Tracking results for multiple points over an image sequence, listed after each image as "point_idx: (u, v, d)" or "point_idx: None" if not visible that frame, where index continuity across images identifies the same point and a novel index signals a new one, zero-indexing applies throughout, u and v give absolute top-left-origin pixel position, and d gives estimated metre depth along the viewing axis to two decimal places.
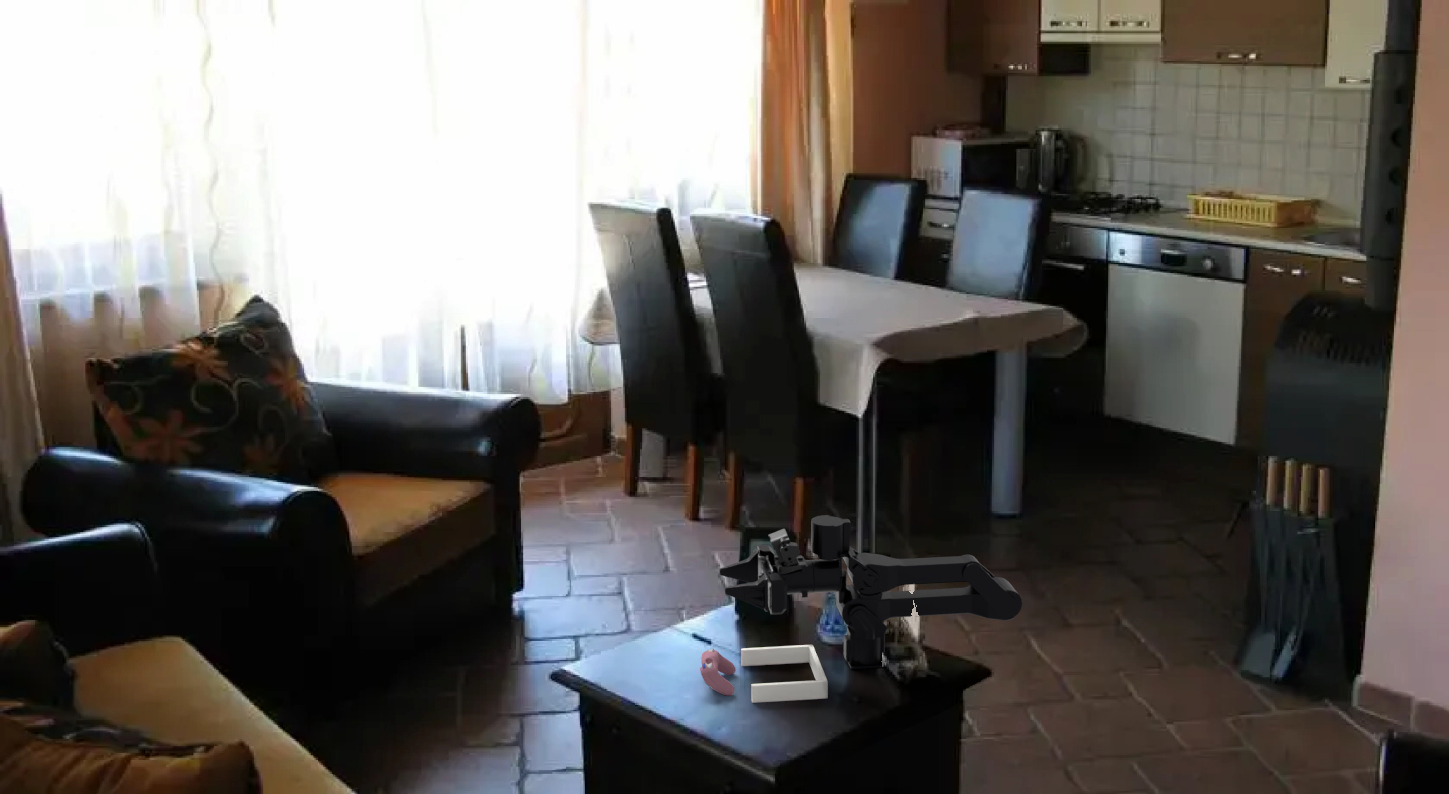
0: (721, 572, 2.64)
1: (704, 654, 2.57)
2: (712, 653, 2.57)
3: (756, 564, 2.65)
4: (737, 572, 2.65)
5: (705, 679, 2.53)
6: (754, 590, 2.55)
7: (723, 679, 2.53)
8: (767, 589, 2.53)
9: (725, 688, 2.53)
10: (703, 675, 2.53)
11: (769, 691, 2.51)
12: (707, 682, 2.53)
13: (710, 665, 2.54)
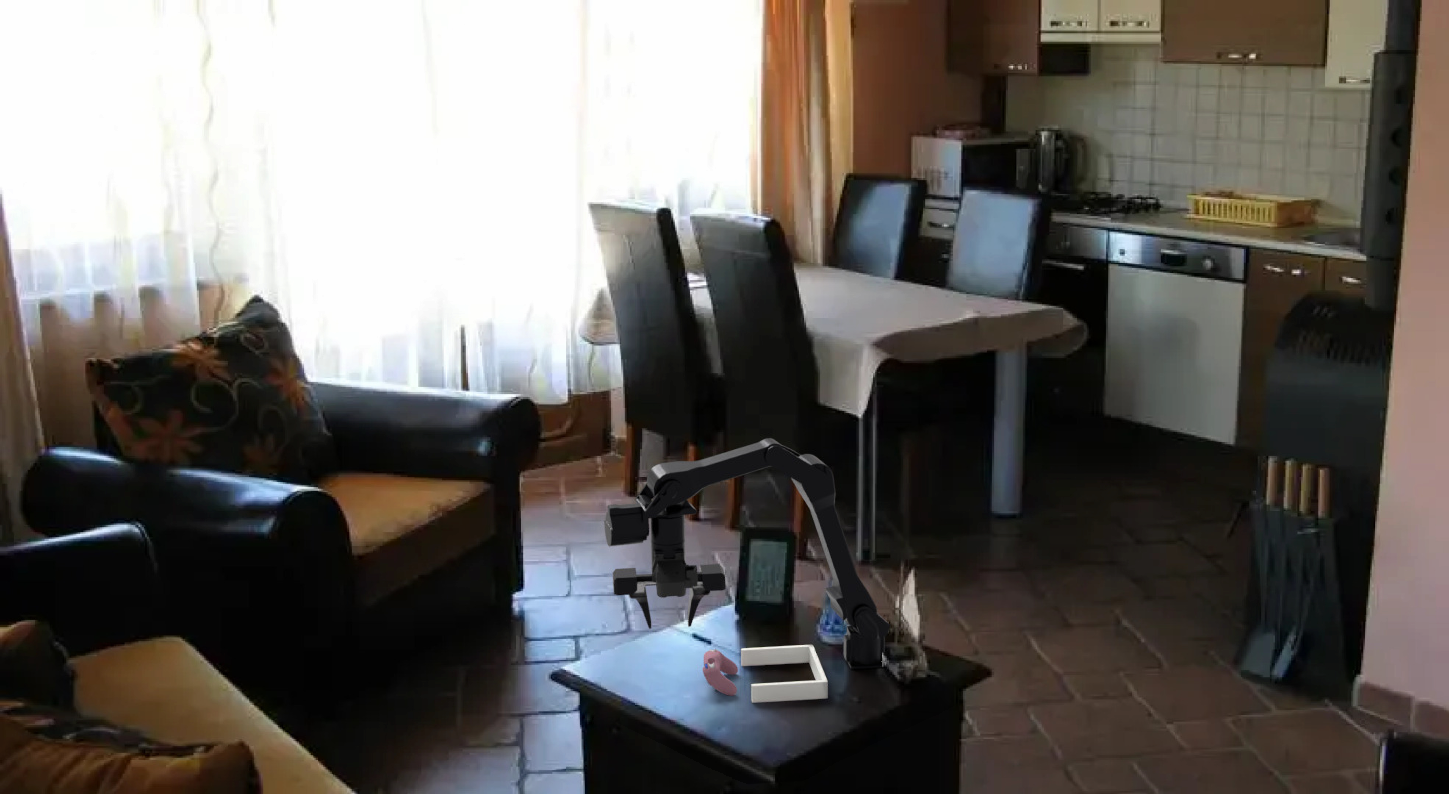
0: None
1: (706, 654, 2.57)
2: (714, 653, 2.57)
3: (646, 593, 2.52)
4: None
5: (707, 679, 2.53)
6: None
7: (725, 679, 2.53)
8: None
9: (728, 688, 2.53)
10: (705, 675, 2.53)
11: (769, 691, 2.51)
12: (709, 682, 2.53)
13: (712, 665, 2.54)
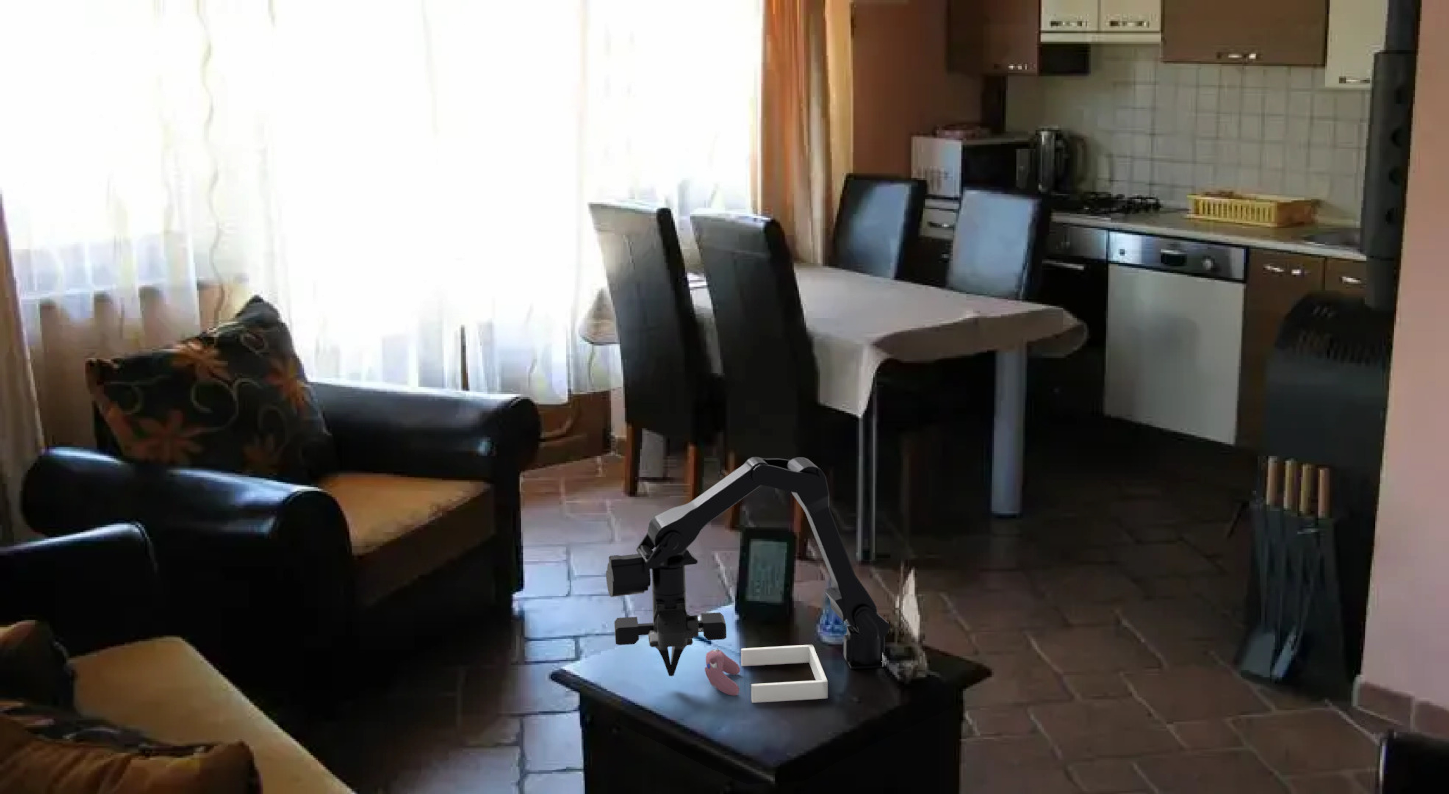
0: None
1: (709, 654, 2.57)
2: (717, 653, 2.57)
3: None
4: None
5: (710, 679, 2.53)
6: None
7: (728, 679, 2.53)
8: (691, 639, 2.54)
9: (730, 688, 2.53)
10: (708, 675, 2.53)
11: (769, 691, 2.51)
12: (712, 682, 2.53)
13: (715, 665, 2.54)
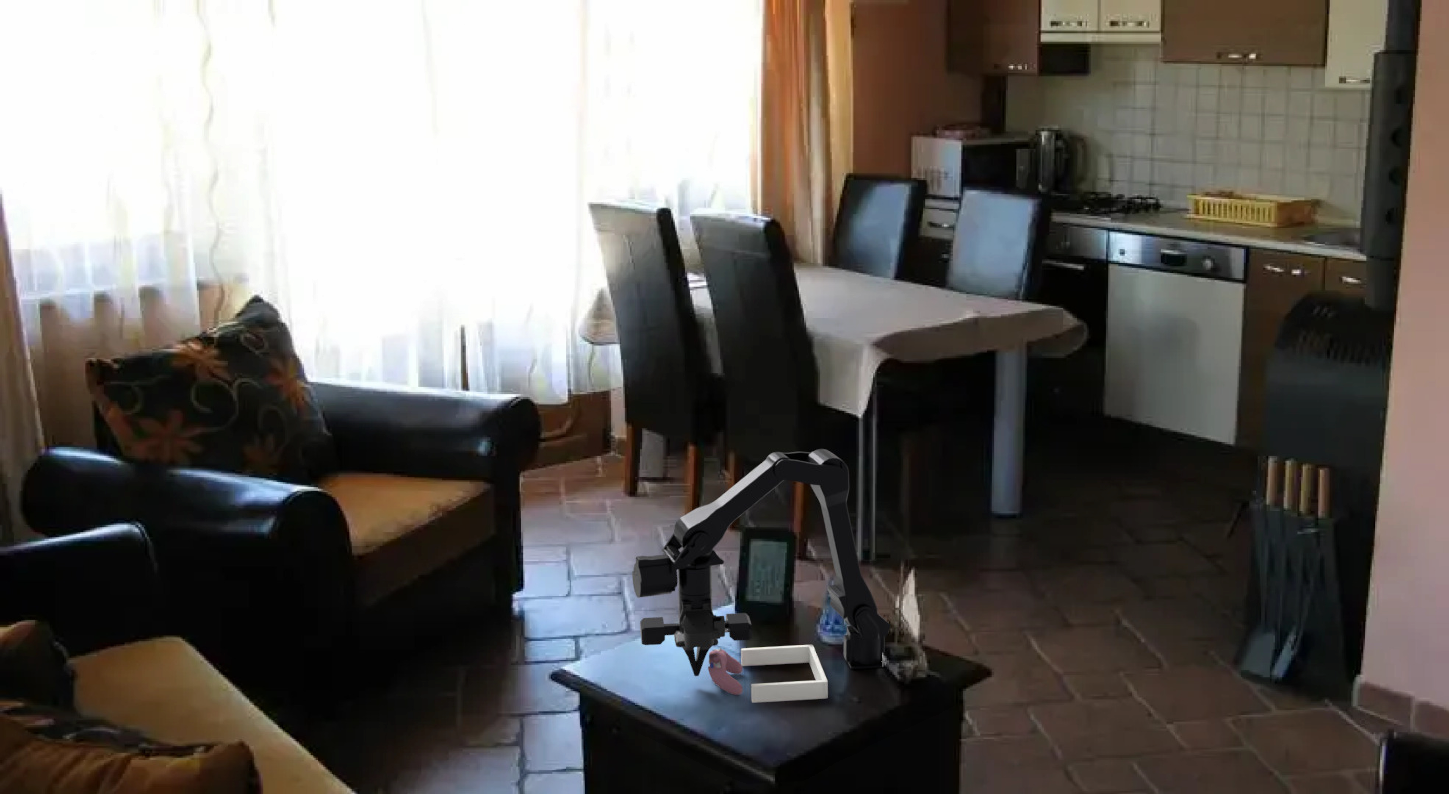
0: None
1: (712, 653, 2.57)
2: (720, 652, 2.57)
3: None
4: None
5: (713, 678, 2.53)
6: None
7: (731, 678, 2.53)
8: (717, 639, 2.55)
9: (734, 688, 2.53)
10: (711, 674, 2.53)
11: (769, 691, 2.51)
12: (715, 681, 2.53)
13: (718, 664, 2.54)
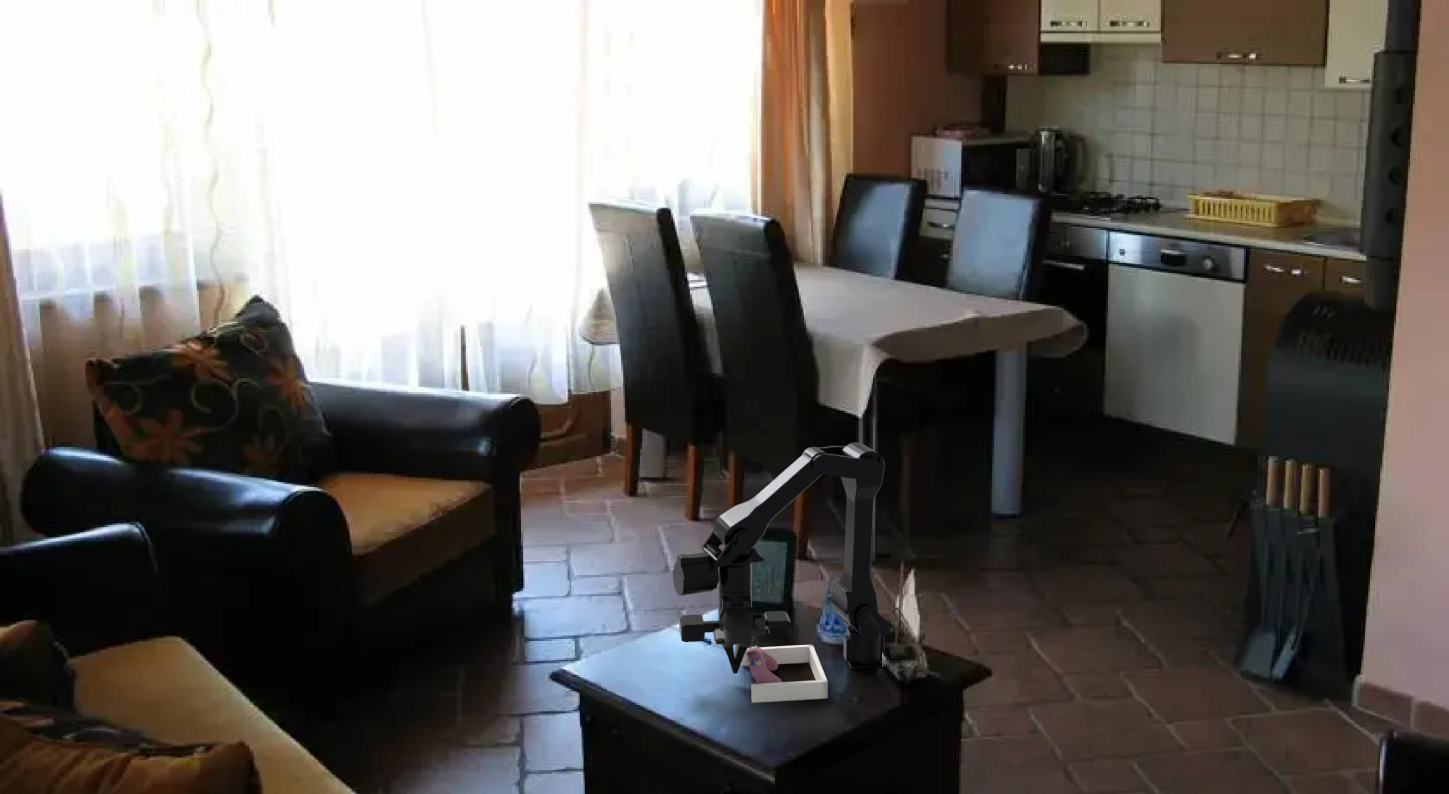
0: None
1: (750, 651, 2.58)
2: (758, 650, 2.58)
3: None
4: None
5: (755, 676, 2.54)
6: None
7: (772, 675, 2.54)
8: (756, 637, 2.55)
9: None
10: (753, 672, 2.54)
11: (769, 691, 2.51)
12: (757, 679, 2.54)
13: (759, 662, 2.55)
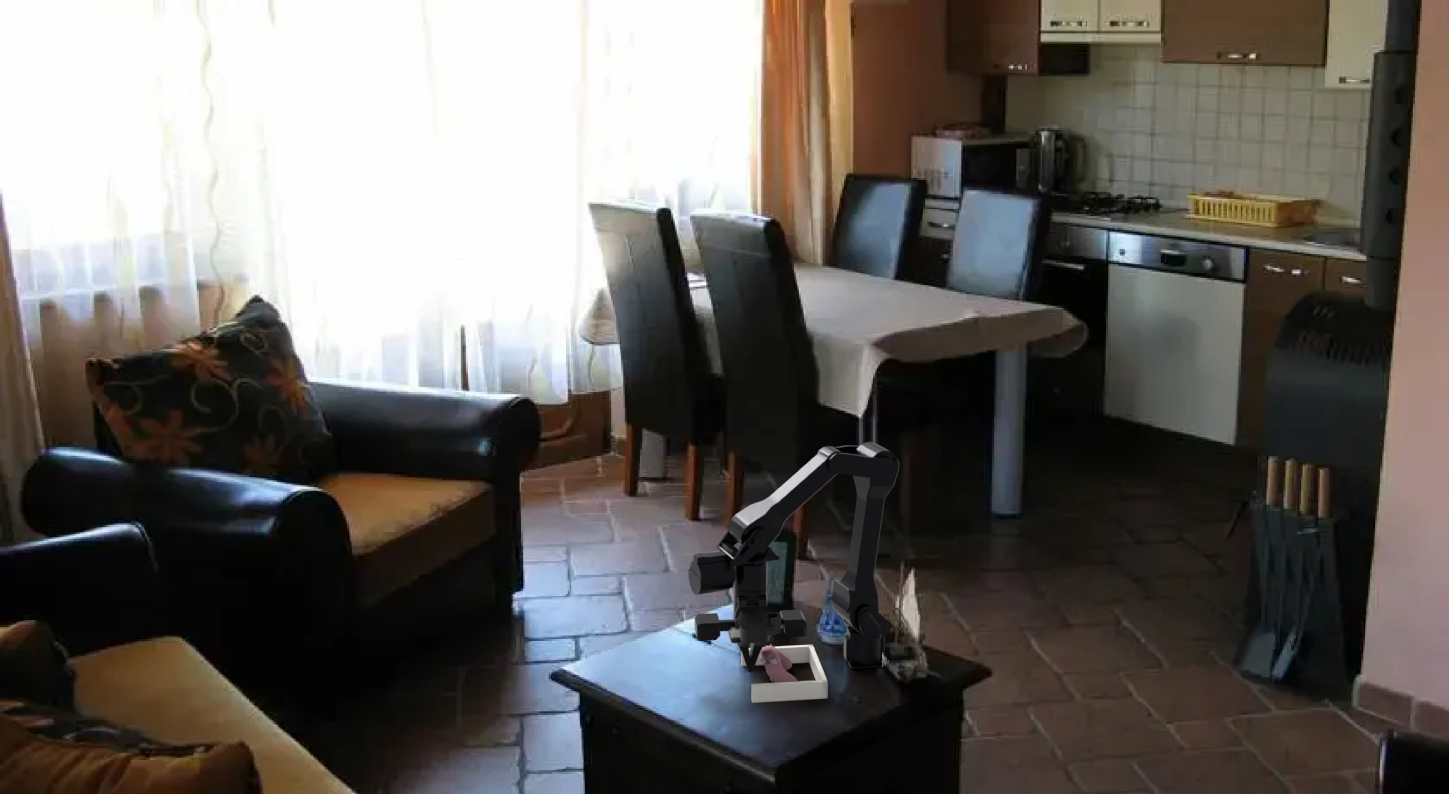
0: None
1: (765, 650, 2.58)
2: (773, 649, 2.58)
3: None
4: None
5: (770, 675, 2.54)
6: None
7: (788, 674, 2.55)
8: (771, 636, 2.56)
9: None
10: (768, 671, 2.54)
11: (769, 691, 2.51)
12: (772, 678, 2.54)
13: (774, 661, 2.55)
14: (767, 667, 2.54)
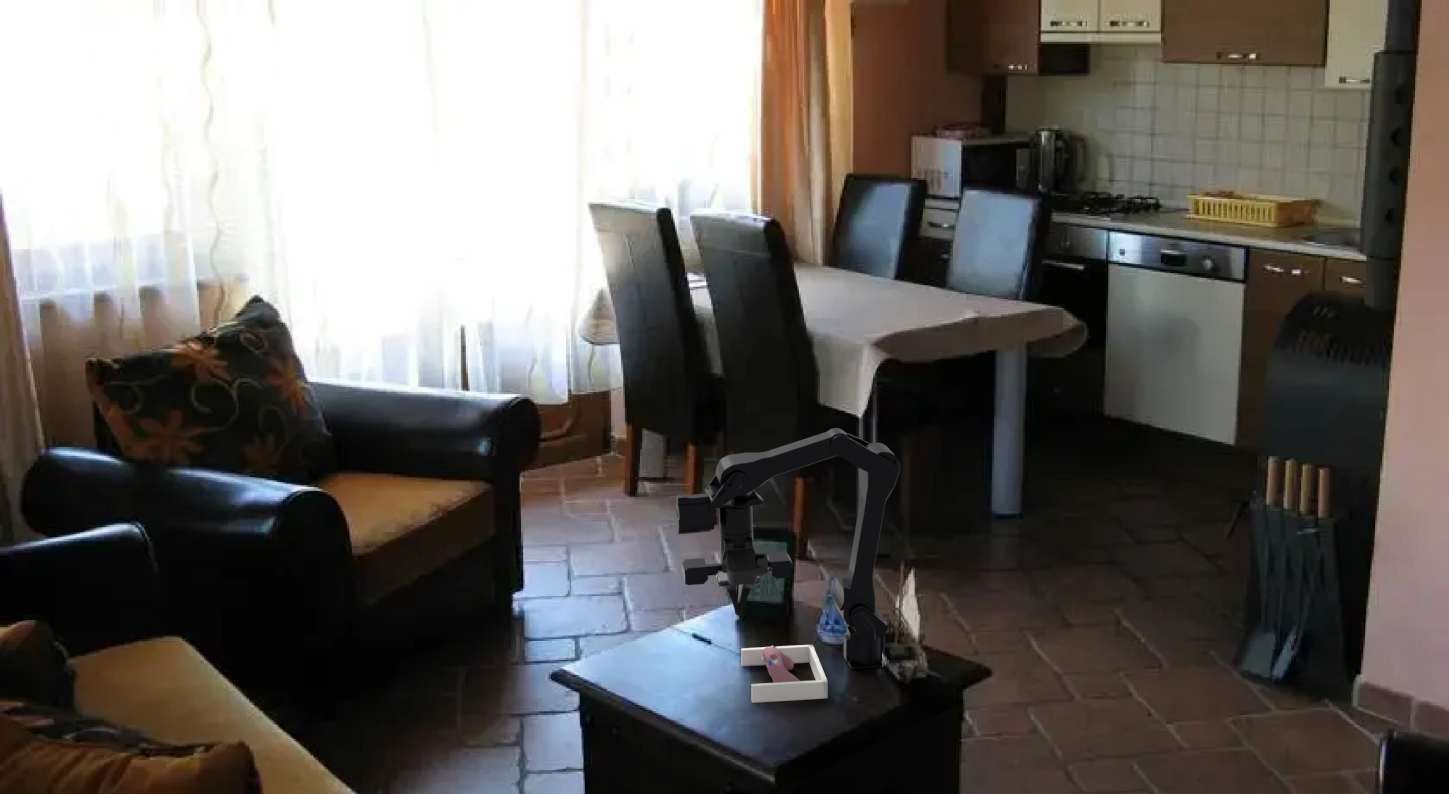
0: None
1: (767, 651, 2.58)
2: (775, 649, 2.58)
3: None
4: None
5: (773, 675, 2.54)
6: None
7: (790, 674, 2.55)
8: (759, 578, 2.58)
9: None
10: (770, 672, 2.54)
11: (769, 691, 2.51)
12: (774, 678, 2.54)
13: (776, 661, 2.55)
14: (769, 668, 2.54)
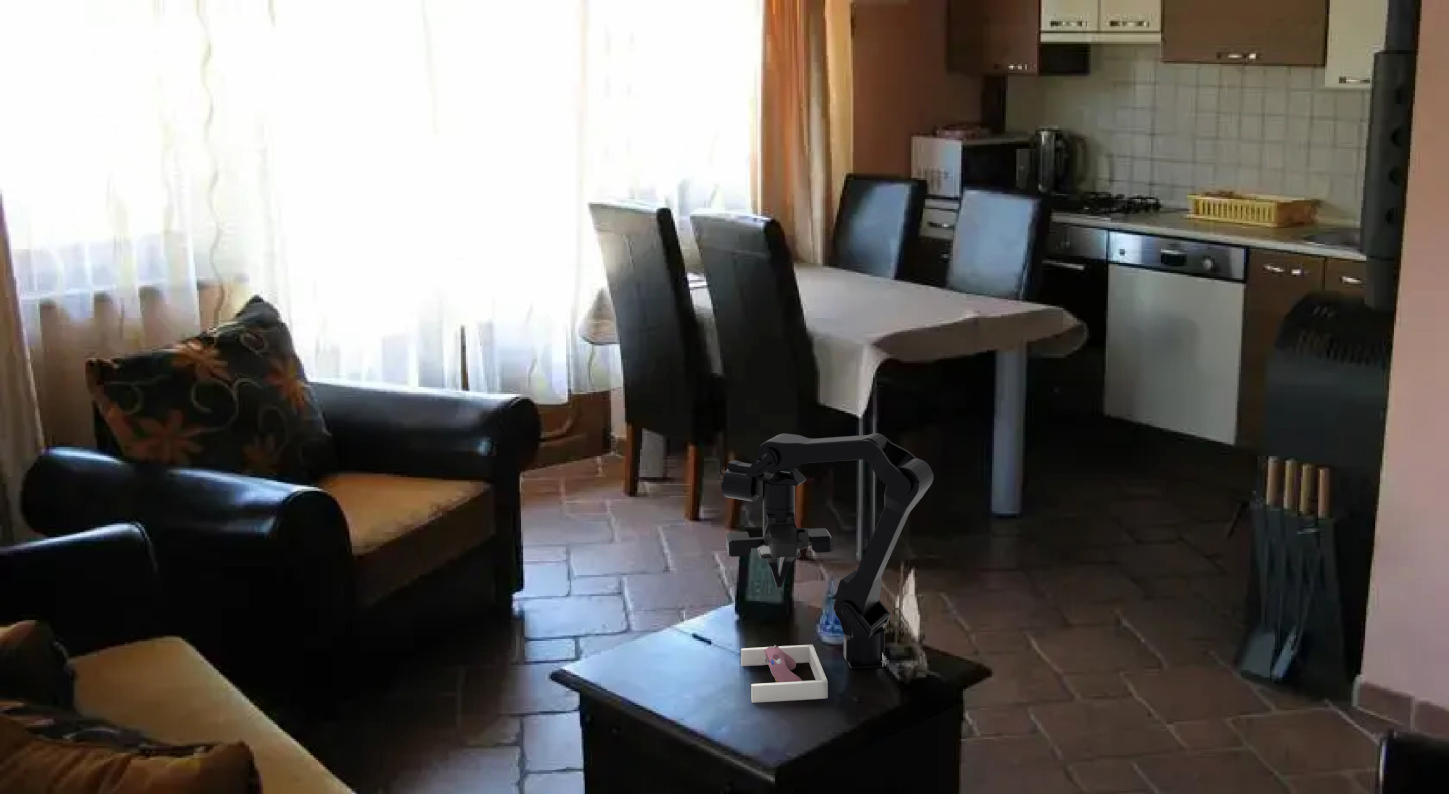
0: None
1: (769, 651, 2.58)
2: (777, 649, 2.58)
3: None
4: None
5: (775, 675, 2.54)
6: None
7: (793, 674, 2.55)
8: (799, 552, 2.70)
9: None
10: (773, 671, 2.54)
11: (769, 691, 2.51)
12: (777, 678, 2.54)
13: (779, 661, 2.55)
14: (772, 668, 2.54)
